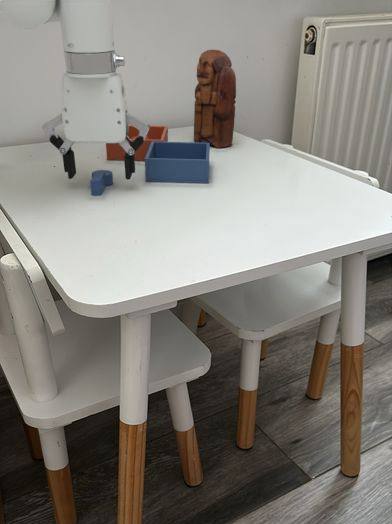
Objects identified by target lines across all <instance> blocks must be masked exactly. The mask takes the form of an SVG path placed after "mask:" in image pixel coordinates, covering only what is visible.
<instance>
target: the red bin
mask: <svg viewBox="0 0 392 524" xmlns="http://www.w3.org/2000/svg"><path fill="white" fill-rule="evenodd" d="M138 135H139V130H138V129H137V128H135V127H133V126H131V125H129V133H128V135H127V136H128V137H129V138H130V139H131V138H132V137H134V136H138ZM146 137H148V138H149V139H145V140H144V142H143V144H142V145H141V146H140V147H139V148H138V149H137V150H136V151H135V153H134V155H135V162H145V157H146V155H147V152H148V149H149V147H150V144H151V142H152V141H158V142H169V126H168V125H150V129H149V131H148V133H147V135H146ZM131 140H132V142H133V141H134V140H135V139H131ZM105 151H106V153H105V154H106V161H124V155H125V153H126V151H125V150H124V149H123V148H122V146H121V145H120V144H119V143H105Z"/></svg>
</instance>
